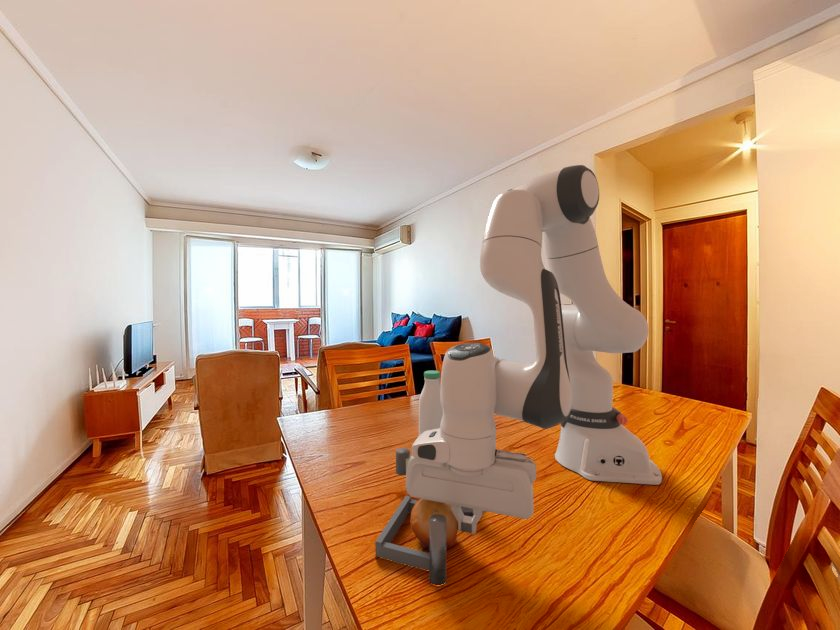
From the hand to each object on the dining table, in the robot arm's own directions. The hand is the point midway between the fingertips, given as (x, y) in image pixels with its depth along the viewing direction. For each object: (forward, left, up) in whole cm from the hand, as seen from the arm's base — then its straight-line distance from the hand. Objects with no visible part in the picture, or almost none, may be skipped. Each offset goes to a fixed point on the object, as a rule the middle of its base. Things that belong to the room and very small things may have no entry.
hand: (467, 530), depth 54 cm
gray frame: (+8, 0, -3) cm, 8 cm away
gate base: (+3, -11, -3) cm, 12 cm away
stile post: (+3, +7, -3) cm, 8 cm away
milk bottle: (+18, -39, -3) cm, 43 cm away
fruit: (+6, 0, -3) cm, 7 cm away
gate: (+10, -12, -1) cm, 16 cm away
